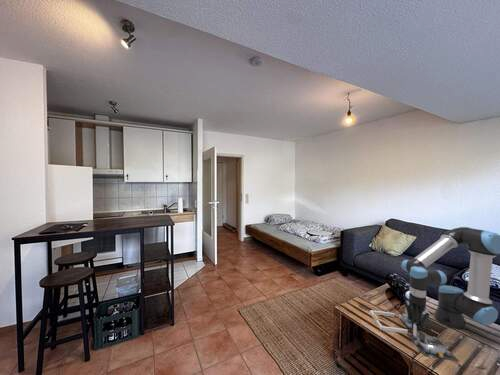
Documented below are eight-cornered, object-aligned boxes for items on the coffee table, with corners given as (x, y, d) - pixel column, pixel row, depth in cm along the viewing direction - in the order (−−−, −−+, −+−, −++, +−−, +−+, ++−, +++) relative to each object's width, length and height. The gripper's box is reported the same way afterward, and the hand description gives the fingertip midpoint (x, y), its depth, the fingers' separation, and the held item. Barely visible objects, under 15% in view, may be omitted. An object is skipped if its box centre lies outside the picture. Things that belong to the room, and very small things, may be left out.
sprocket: (436, 338, 119) (437, 328, 119) (458, 360, 104) (458, 348, 104) (407, 334, 122) (408, 324, 122) (424, 355, 107) (425, 344, 107)
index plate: (437, 339, 119) (437, 337, 119) (459, 362, 104) (459, 361, 104) (406, 335, 122) (406, 333, 122) (424, 357, 106) (424, 355, 106)
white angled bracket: (393, 316, 139) (393, 311, 139) (408, 334, 122) (408, 328, 122) (369, 313, 142) (369, 308, 142) (380, 330, 125) (380, 325, 125)
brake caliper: (429, 330, 123) (415, 313, 125) (411, 338, 125) (398, 320, 127) (418, 318, 134) (406, 302, 136) (403, 326, 136) (391, 310, 138)
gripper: (401, 290, 121) (399, 328, 121) (426, 302, 109) (424, 345, 109) (409, 288, 123) (408, 326, 124) (435, 300, 111) (433, 342, 112)
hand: (416, 335), depth 116 cm, fingers closed
